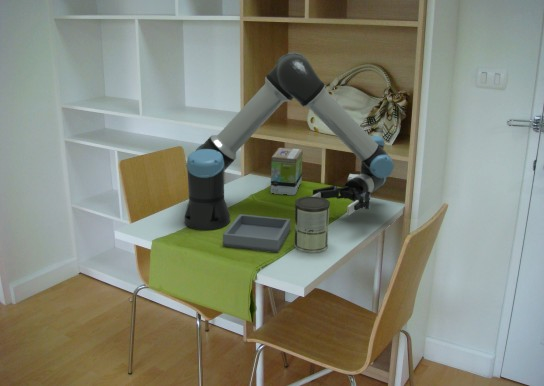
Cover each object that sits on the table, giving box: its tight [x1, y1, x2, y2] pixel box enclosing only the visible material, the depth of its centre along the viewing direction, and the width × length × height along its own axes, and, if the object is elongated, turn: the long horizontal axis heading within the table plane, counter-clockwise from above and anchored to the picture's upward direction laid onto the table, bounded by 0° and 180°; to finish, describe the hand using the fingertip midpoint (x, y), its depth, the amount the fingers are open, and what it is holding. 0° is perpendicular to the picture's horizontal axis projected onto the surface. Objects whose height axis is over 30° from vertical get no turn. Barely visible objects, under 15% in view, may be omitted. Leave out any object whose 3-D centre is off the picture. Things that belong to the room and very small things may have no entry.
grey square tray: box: [222, 213, 292, 253], centre depth 175 cm, size 17×17×4 cm
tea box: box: [270, 147, 303, 196], centre depth 219 cm, size 15×10×15 cm
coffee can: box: [293, 195, 331, 254], centre depth 169 cm, size 10×10×14 cm
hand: (328, 206), depth 176 cm, fingers open, 13 cm apart
